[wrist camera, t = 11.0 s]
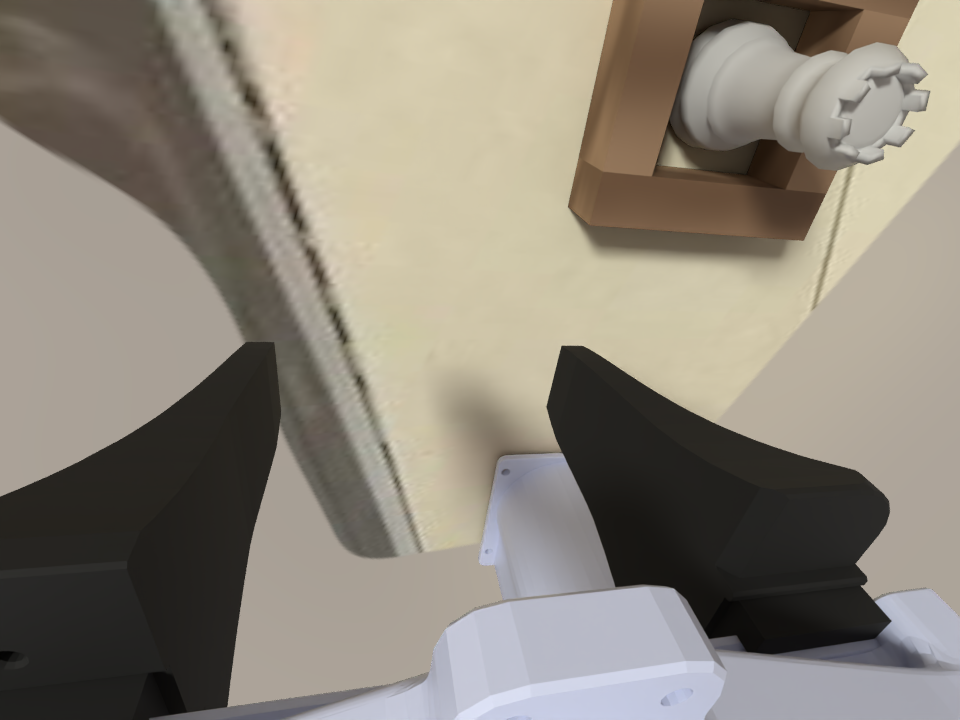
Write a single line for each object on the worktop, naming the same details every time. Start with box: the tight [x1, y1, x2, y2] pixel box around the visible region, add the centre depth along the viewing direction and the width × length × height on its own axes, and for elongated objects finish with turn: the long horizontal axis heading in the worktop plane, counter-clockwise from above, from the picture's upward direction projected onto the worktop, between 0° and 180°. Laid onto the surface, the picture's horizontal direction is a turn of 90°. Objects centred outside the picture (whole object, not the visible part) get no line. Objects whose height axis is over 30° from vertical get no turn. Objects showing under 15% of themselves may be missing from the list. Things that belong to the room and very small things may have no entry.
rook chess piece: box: [669, 19, 930, 171], centre depth 17 cm, size 4×4×8 cm
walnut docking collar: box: [568, 0, 919, 241], centre depth 19 cm, size 10×10×2 cm
